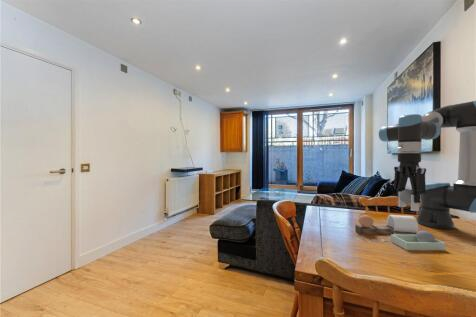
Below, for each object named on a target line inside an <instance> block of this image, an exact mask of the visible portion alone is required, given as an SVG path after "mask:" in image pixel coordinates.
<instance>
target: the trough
mask: <svg viewBox="0 0 476 317" xmlns="http://www.w3.org/2000/svg"><path fill="white" fill-rule="evenodd" d="M390 242H391V243H393V244H394V245H397V246H398V247H400V248H402V249H403V250H405V251H446V242H444V241H441V240H440V239H437V238H435V242H418V241H417V240H416V234H397V233H396V234H390Z"/></svg>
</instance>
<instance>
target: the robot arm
mask: <svg viewBox="0 0 476 317" xmlns="http://www.w3.org/2000/svg"><path fill="white" fill-rule="evenodd" d="M442 128H444V129H445V128H455V130H456V131H457V132H459V148H458V151H459V152H458V168H457V169H458V171H457V179H456V181H454V182H452V183H453V185H451V184H450V182H428V183H427V182H426V173H427V168H426V167H425V168H423V167H420V165H419V164H420V163H421V162H422V153H421V152H422V140H425V141H430V140H434V139H437V138H438V137H439V136H440V135H441V133H442ZM378 138H379V140H380V141H382V142H384V143H385V142H387V143H390V142H397V152H398V153H397V162H398V163H399V165H398V166H394V167H393V169H394V178H393V180H394V181H393V189H394V190H396V191H397V199H398V203H397V204H398V205H397V207H399V208H407V204H405V203H403V202H402V201H401V200H400V198H399V194H400V193H401V192H402V191H403V190H406V187H407V186H406V185H407V182H408V179H409V181H410V187H411V190H412V191H413V193H411V204H410V211H412V212H418V214H417V216H416V220H417V223H418V225H422V226H425V227H430V228H434V229H440V230H441V229H442V230H443V229H444V230H452V229H455V223H454V221H453V218H452V215H451V210H450V209H452V210H458V211H463V212H468V213H472V214H473V213H474V214H476V100H472V101H467V102H462V103H457V104H449V105H445V106H443V107H440V108H436V109H434V110H431V111H428V112H426V113H424V114H423V115H421V114H406V115H405V114H404V115H401V116H400V117H399V118H398V122H397V123H396V124H394V125H389V126H382V127H381V128H380V129H379V130H378Z"/></svg>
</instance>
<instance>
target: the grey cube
mask: <svg viewBox="0 0 476 317" xmlns="http://www.w3.org/2000/svg"><path fill="white" fill-rule="evenodd" d="M411 193H413V191H412V189H405V190H403V191H402V192H401V193H400V194H399V198H400V200H401V201H402V202H403V203H405V204H406V205H411Z"/></svg>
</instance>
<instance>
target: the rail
mask: <svg viewBox="0 0 476 317" xmlns="http://www.w3.org/2000/svg"><path fill="white" fill-rule="evenodd" d="M354 229H355V233H357V234H358V235H362V234H364V235H365V234H366V235H378V234H379V235H391V234H394V232H395V231H394V227H391V226H389V225H387V224H386V225H374V224H373V225H372V226H371V227H368V228H366V227H363V226H362V225H358V224H355V228H354Z"/></svg>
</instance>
